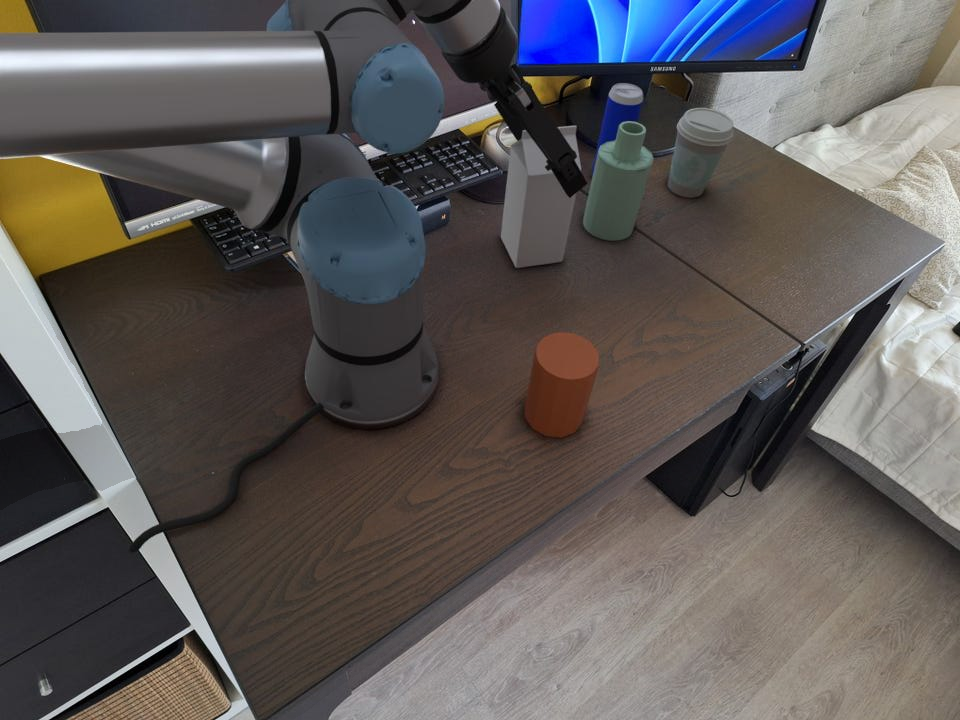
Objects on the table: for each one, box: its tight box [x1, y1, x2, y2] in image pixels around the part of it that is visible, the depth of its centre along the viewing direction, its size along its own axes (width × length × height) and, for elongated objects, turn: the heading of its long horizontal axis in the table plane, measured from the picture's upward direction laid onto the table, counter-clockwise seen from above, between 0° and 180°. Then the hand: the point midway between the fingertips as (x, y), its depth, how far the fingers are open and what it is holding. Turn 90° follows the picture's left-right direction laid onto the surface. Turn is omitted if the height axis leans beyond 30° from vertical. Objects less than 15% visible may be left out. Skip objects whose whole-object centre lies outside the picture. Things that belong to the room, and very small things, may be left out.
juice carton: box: [500, 125, 582, 269], centre depth 89 cm, size 7×7×19 cm
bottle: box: [582, 121, 655, 242], centre depth 96 cm, size 8×8×16 cm
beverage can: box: [591, 82, 644, 176], centre depth 105 cm, size 5×5×15 cm
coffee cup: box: [667, 107, 735, 199], centre depth 106 cm, size 8×8×12 cm
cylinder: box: [524, 331, 600, 439], centre depth 73 cm, size 7×7×10 cm
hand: (549, 160), depth 84 cm, fingers open, 13 cm apart
